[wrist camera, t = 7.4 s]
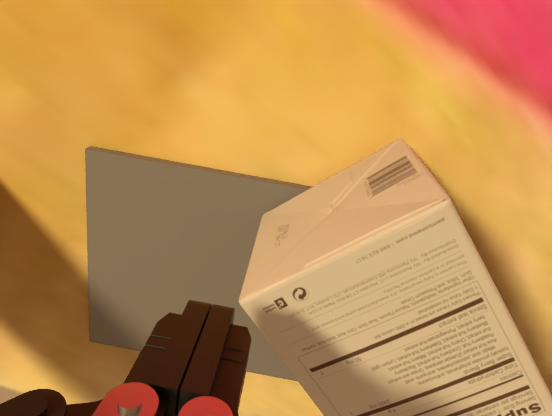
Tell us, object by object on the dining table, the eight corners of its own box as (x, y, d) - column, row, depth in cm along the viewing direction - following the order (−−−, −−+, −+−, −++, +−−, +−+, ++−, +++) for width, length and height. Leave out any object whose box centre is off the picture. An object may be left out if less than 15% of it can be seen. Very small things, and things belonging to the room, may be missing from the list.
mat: (432, 208, 24) (435, 213, 24) (371, 388, 30) (372, 395, 29) (90, 146, 24) (85, 149, 24) (93, 335, 30) (89, 341, 30)
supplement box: (403, 132, 22) (509, 335, 26) (259, 211, 24) (378, 385, 29) (459, 196, 14) (600, 477, 18) (232, 307, 16) (406, 531, 20)
